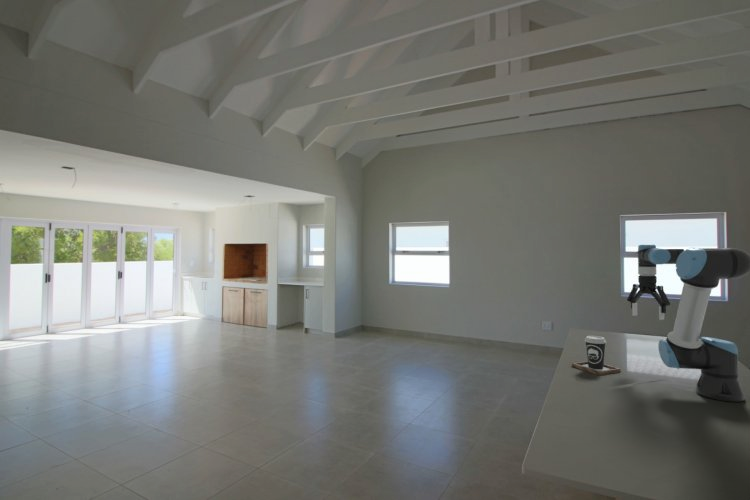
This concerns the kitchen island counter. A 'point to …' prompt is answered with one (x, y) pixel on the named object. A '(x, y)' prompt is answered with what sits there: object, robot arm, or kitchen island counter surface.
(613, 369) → the tray
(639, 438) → the kitchen island counter surface
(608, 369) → the saucer
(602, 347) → the coffee cup
